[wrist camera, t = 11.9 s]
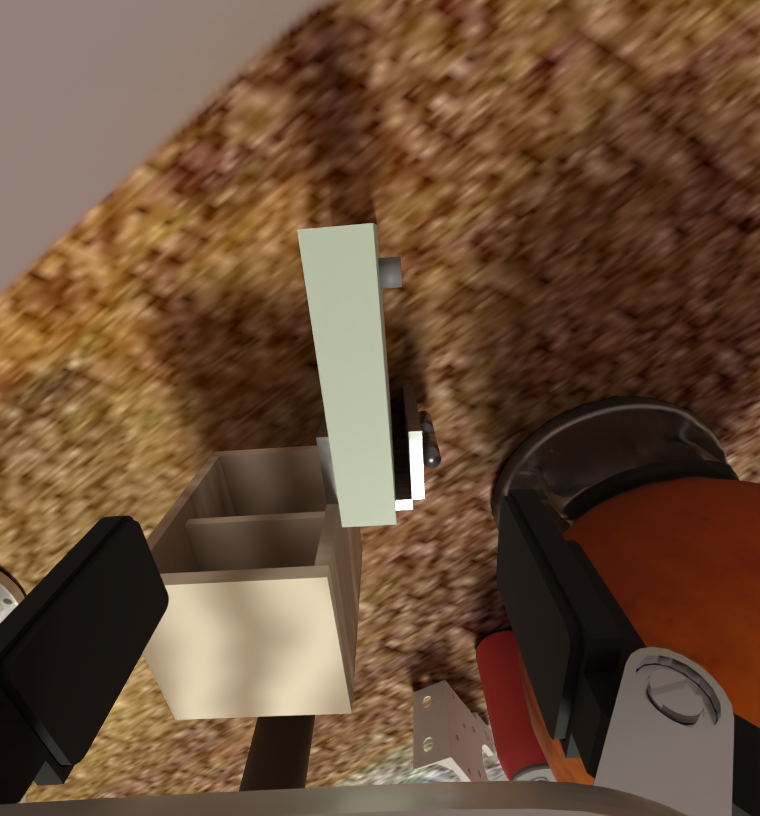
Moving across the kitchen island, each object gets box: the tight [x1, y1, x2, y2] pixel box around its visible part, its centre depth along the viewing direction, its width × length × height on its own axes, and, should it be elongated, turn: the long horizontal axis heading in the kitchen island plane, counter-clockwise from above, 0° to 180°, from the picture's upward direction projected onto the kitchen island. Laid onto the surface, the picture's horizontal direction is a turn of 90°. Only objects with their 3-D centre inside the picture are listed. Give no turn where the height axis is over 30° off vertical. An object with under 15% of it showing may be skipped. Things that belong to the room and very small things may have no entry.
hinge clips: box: [316, 383, 441, 510], centre depth 29 cm, size 8×6×8 cm
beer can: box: [476, 630, 557, 782], centre depth 38 cm, size 7×7×12 cm
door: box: [297, 223, 402, 527], centre depth 24 cm, size 15×4×12 cm, turn 5°
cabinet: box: [143, 445, 362, 720], centre depth 30 cm, size 12×12×14 cm
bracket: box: [413, 680, 494, 782], centre depth 44 cm, size 11×4×10 cm, turn 34°
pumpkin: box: [491, 396, 760, 785], centre depth 22 cm, size 22×22×30 cm
